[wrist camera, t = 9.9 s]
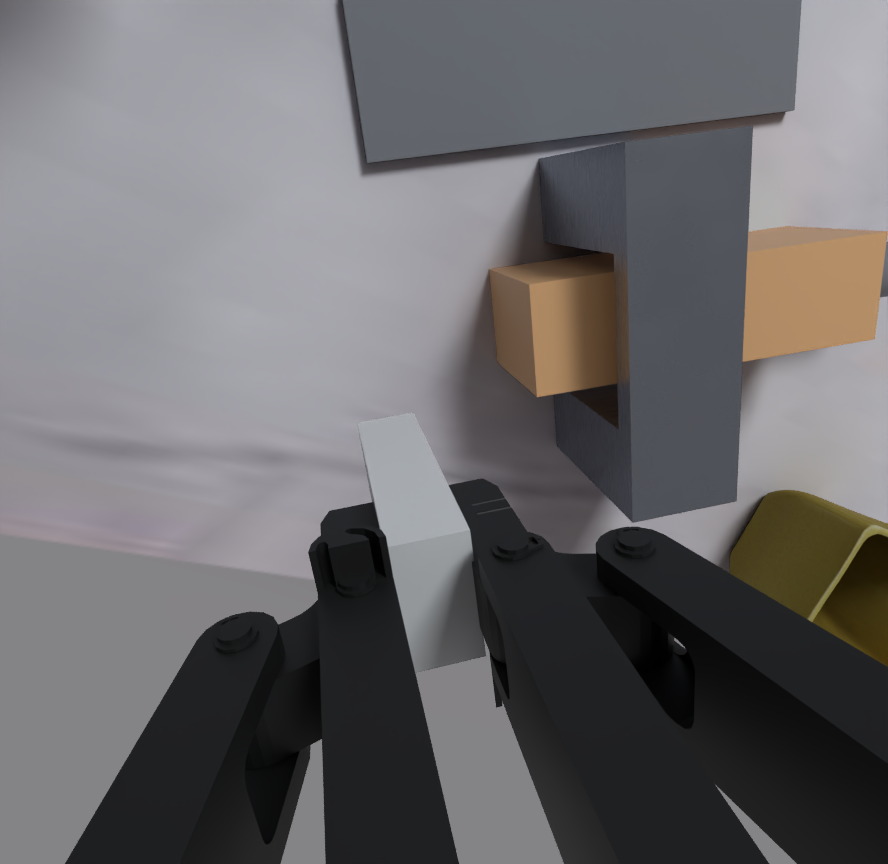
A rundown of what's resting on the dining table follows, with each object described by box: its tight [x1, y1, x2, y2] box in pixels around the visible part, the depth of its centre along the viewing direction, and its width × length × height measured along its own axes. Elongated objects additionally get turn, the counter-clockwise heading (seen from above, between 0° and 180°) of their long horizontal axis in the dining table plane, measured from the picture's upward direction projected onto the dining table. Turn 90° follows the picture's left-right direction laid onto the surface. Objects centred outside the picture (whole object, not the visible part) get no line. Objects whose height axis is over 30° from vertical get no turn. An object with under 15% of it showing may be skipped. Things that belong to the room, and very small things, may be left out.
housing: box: [539, 126, 753, 523], centre depth 31 cm, size 5×16×10 cm, turn 7°
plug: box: [489, 226, 888, 397], centre depth 33 cm, size 21×5×7 cm, turn 97°
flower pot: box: [730, 490, 888, 667], centre depth 39 cm, size 9×9×9 cm
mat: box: [342, 0, 801, 163], centre depth 31 cm, size 22×7×1 cm, turn 97°
